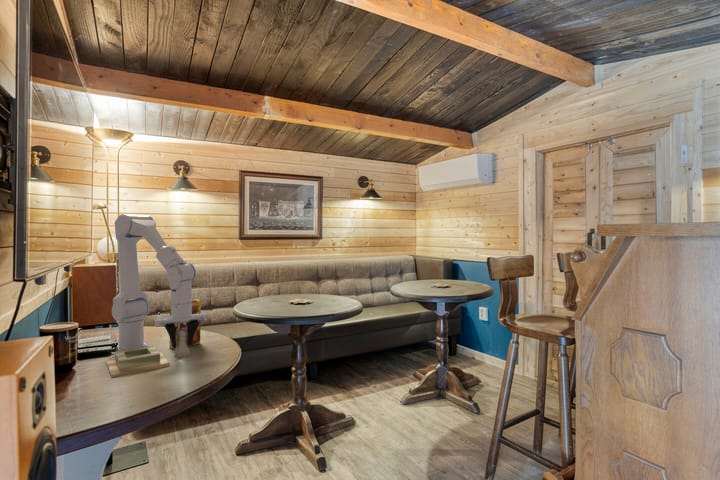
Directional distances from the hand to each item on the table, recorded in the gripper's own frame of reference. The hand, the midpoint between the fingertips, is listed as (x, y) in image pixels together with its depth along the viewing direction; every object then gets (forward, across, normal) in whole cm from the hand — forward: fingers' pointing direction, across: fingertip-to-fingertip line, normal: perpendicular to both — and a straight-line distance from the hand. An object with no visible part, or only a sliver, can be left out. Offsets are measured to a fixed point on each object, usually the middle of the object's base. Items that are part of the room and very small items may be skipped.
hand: (181, 346), depth 117 cm
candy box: (+3, +3, +10) cm, 11 cm away
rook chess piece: (+3, 0, 0) cm, 3 cm away
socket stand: (+3, -12, 0) cm, 12 cm away
